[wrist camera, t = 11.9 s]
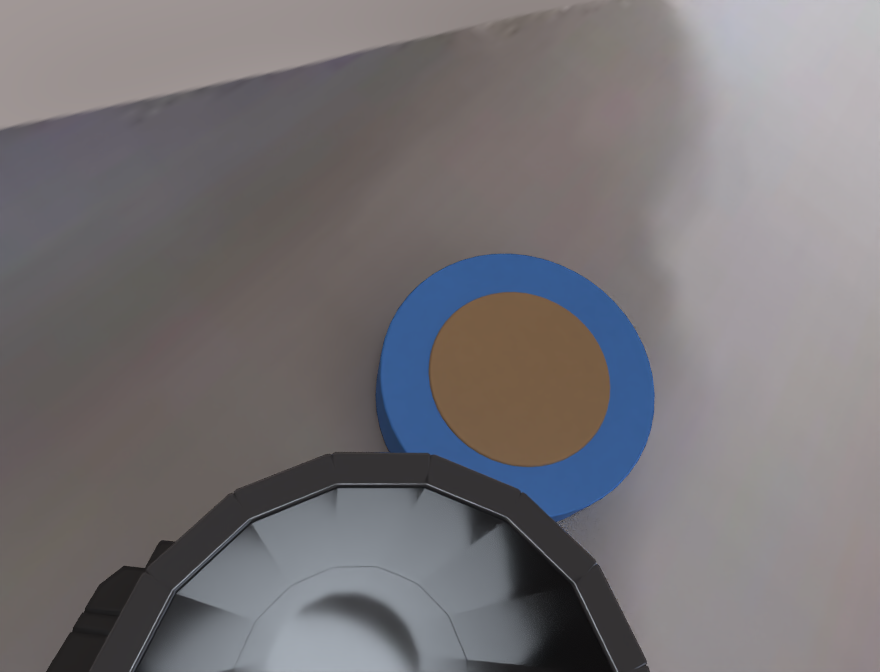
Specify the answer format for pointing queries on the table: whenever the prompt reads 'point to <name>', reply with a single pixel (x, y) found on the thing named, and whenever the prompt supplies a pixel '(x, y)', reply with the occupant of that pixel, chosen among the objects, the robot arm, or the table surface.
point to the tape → (518, 379)
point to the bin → (373, 580)
